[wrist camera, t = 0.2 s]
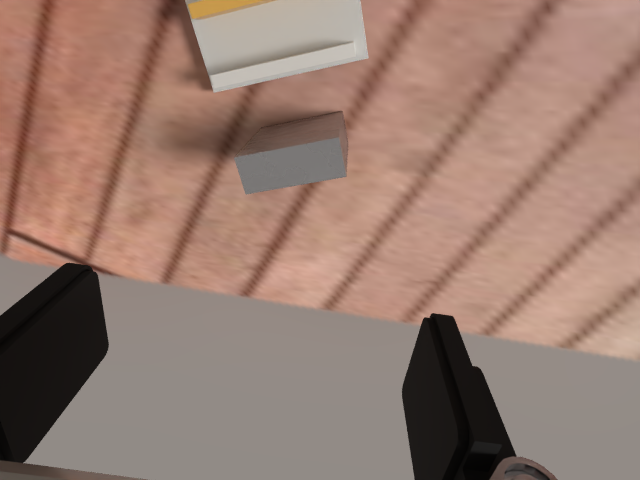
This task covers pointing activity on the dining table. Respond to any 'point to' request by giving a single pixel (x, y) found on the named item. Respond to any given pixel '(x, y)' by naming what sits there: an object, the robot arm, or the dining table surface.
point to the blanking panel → (294, 154)
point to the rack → (275, 37)
